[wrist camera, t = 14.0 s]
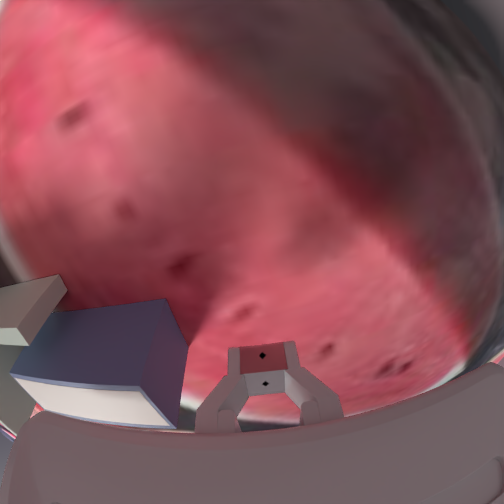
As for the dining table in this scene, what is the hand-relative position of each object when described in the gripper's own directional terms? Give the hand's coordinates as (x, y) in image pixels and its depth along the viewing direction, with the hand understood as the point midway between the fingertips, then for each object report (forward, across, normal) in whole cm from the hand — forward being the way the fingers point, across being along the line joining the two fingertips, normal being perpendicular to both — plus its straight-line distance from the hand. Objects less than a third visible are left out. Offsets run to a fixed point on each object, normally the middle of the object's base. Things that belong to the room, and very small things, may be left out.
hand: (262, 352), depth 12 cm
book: (+3, +10, +1) cm, 10 cm away
